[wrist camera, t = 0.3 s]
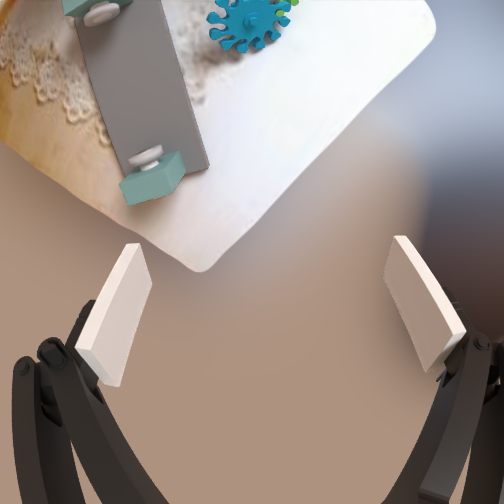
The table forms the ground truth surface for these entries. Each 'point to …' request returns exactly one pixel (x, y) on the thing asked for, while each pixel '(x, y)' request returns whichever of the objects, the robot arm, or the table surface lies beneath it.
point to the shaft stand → (139, 93)
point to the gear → (249, 21)
